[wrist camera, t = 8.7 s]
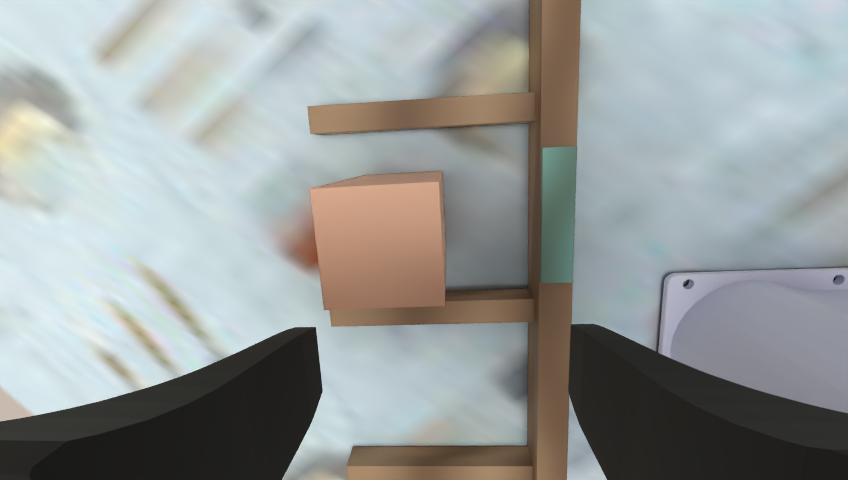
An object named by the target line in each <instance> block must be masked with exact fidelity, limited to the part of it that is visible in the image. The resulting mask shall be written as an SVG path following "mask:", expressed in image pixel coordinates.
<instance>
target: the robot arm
mask: <svg viewBox="0 0 848 480" xmlns="http://www.w3.org/2000/svg"><path fill="white" fill-rule="evenodd" d="M835 276H837V278H836V280H835V281H834V282H833V279H834V277H835ZM688 279H689V284H688V285H687V286H684V287H683V283H684V281H685V280H688ZM568 392H569V395H570V398H571V401H572V404H573V408H574V410H575V413H576V416H577V419H578V422H579V424H580V426H581V428H582V431H583V433H584V435H585V437H586V439H587V441H588V443H589V445H590V447H591V449H592V451H593V453H594V455H595V457H596V459H597V460H598V462H599V464H600V466H601V468H602V470H603V472H604V474H605V476H606V478H607V480H848V268H816V269H784V270H752V271H720V272H688V273H672V274H670V275H668V276H667V277H666V278H665V281H664V288H663V300H662V313H661V325H660V337H659V350H658V352H655V351H653V350H651V349H649V348H647V347H645V346H643V345H640V344H638V343H636V342H634V341H632V340H630V339H628V338H626V337H624V336H622V335H619V334H617V333H615V332H613V331H611V330H608V329H606V328H604V327H601V326H598V325H595V324H571V332H570V358H569V384H568ZM321 394H322V381H321V372H320V363H319V353H318V344H317V335H316V327H295V328H292V329H288V330H286V331H283V332H281V333H278V334H276V335H274V336H272V337H269V338H267V339H265V340H263V341H261V342H259V343H257V344H255V345H253V346H250V347H248V348H246V349H244V350H242V351H240V352H238V353H236V354H233V355H231V356H229V357H226V358H224V359H222V360H220V361H217V362H215V363H213V364H211V365H208V366H206V367H204V368H201V369H199V370H196V371H194V372H191V373H189V374H186V375H183V376H181V377H178V378H175V379H172V380H169V381H167V382H164V383H161V384H158V385H155V386H152V387H149V388H145V389H142V390H138V391H135V392H131V393H128V394H124V395H121V396H117V397H114V398H110V399H107V400H103V401H99V402H95V403H91V404H87V405H83V406H78V407H74V408H70V409H65V410H60V411H56V412H51V413H46V414H41V415H36V416H31V417H26V418H20V419H14V420H7V421H1V422H0V480H282V478H283V476H284V474H285V472H286V471H287V469H288V467H289V465H290V463H291V461H292V459H293V457H294V455H295V453H296V452H297V450H298V448H299V446H300V444H301V442H302V440H303V438H304V436H305V434H306V432H307V430H308V428H309V426H310V424H311V422H312V420H313V417H314V414H315V412H316V409H317V406H318V403H319V400H320V397H321Z"/></svg>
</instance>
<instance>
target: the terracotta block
mask: <svg viewBox="0 0 848 480" xmlns="http://www.w3.org/2000/svg"><path fill="white" fill-rule="evenodd" d="M310 195H311V203H312V212H313V220H314V229H315V237H316V245H317V254H318V262H319V271H320V279H321V288H322V296H323V304H324V310H337V309H368V308H399V307H430V306H445V277H446V236H445V215H444V194H443V173H442V171H430V172H412V173H394V174H377V175H363V176H359V177H355V178H351V179H347V180H343V181H339V182H335V183H331V184H327V185H323V186H319V187H315V188H311V189H310Z"/></svg>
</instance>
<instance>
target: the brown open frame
mask: <svg viewBox="0 0 848 480" xmlns="http://www.w3.org/2000/svg"><path fill="white" fill-rule="evenodd" d="M580 14H581V0H529V93H513V94H497V95H481V96H465V97H449V98H433V99H417V100H401V101H385V102H369V103H353V104H337V105H321V106H307V107H308V116H309V125H310V134H317V135H331V134H348V133H366V132H383V131H400V130H418V129H435V128H453V127H470V126H487V125H505V124H522V123H529V204H528V289H500V290H466V291H445V306H430V307H399V308H368V309H337V310H330V318H331V327H334V326H376V325H419V324H461V323H503V322H528V423H527V446H419V447H353V448H352V451H351V454H350V458H349V461H348V464H347V473H348V480H567V453H568V419H569V392H568V384H569V358H570V332H571V318H572V284H573V260H574V227H575V193H576V160H577V116H578V82H579V48H580Z"/></svg>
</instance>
